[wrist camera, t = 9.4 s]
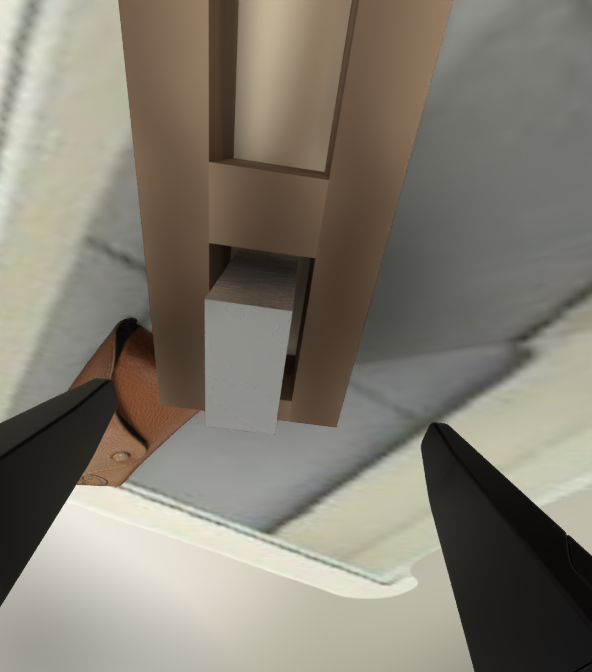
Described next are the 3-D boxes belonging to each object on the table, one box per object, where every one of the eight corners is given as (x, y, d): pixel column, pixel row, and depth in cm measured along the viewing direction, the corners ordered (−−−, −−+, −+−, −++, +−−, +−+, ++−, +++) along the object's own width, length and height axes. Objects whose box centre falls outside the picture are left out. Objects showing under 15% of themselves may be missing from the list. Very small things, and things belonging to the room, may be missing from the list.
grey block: (299, 248, 18) (292, 311, 11) (286, 339, 21) (274, 434, 14) (245, 239, 18) (204, 299, 11) (240, 333, 21) (205, 425, 14)
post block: (445, -108, 12) (522, -254, 8) (331, 374, 23) (336, 427, 19) (168, -159, 12) (83, -341, 7) (188, 355, 23) (160, 405, 18)
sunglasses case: (120, 493, 31) (41, 542, 25) (82, 432, 32) (-2, 465, 26) (232, 383, 24) (159, 415, 18) (178, 310, 25) (93, 317, 19)
